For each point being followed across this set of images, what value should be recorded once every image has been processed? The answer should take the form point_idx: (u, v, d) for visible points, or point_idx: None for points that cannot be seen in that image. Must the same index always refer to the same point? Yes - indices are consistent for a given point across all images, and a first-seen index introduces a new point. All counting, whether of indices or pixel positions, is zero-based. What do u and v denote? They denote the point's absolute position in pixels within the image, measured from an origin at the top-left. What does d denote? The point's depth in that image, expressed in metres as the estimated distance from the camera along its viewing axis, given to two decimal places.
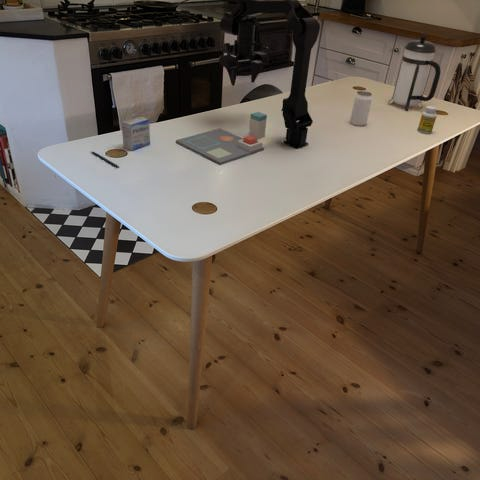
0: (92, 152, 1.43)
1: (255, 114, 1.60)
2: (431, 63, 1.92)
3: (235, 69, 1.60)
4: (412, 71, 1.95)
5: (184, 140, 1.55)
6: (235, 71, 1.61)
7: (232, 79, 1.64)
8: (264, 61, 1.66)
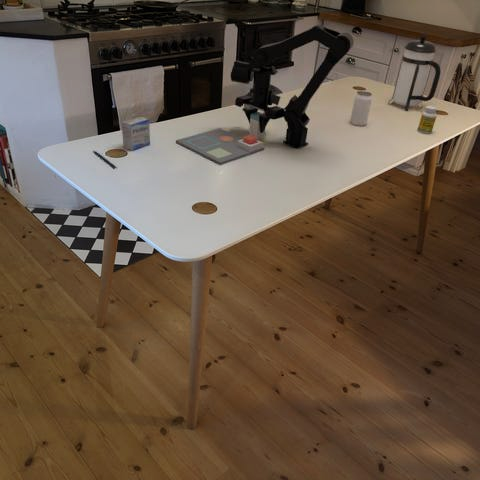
0: (94, 152, 1.44)
1: (255, 114, 1.60)
2: (431, 63, 1.92)
3: (245, 111, 1.61)
4: (412, 71, 1.95)
5: (184, 140, 1.55)
6: (246, 114, 1.61)
7: None
8: (268, 116, 1.54)
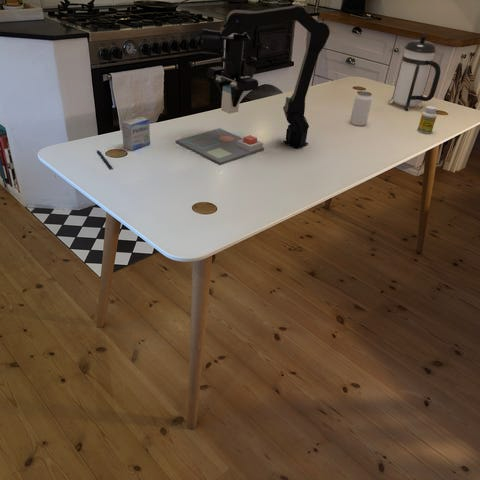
0: (97, 151, 1.44)
1: (227, 86, 1.49)
2: (431, 63, 1.92)
3: (217, 83, 1.50)
4: (412, 71, 1.95)
5: (184, 140, 1.55)
6: (218, 86, 1.50)
7: None
8: (239, 87, 1.43)
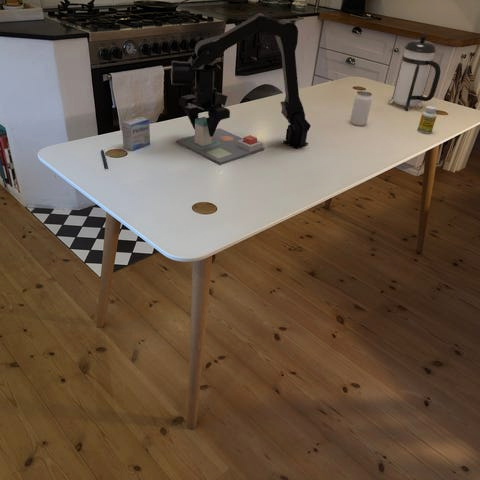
0: (101, 150, 1.45)
1: (199, 119, 1.50)
2: (431, 63, 1.92)
3: (186, 111, 1.51)
4: (412, 71, 1.95)
5: (184, 140, 1.55)
6: (187, 113, 1.51)
7: None
8: (211, 117, 1.43)
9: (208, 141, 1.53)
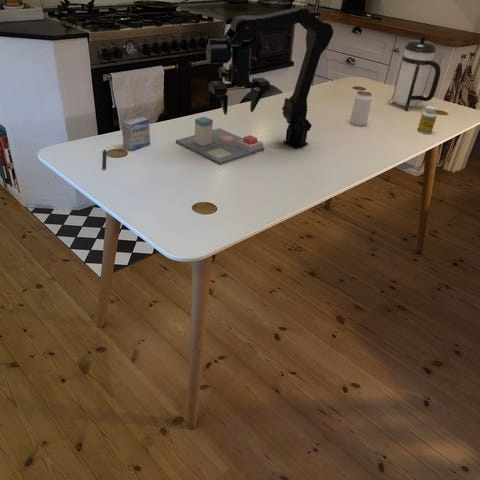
0: None
1: (199, 119, 1.50)
2: (431, 63, 1.92)
3: (224, 97, 1.41)
4: (412, 71, 1.95)
5: (184, 140, 1.55)
6: (225, 99, 1.42)
7: (223, 108, 1.45)
8: (263, 89, 1.44)
9: (208, 141, 1.53)
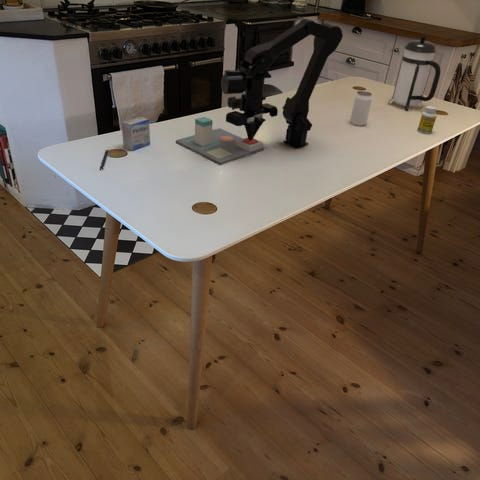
0: None
1: (199, 119, 1.50)
2: (431, 63, 1.92)
3: (254, 124, 1.47)
4: (412, 71, 1.95)
5: (184, 140, 1.55)
6: (254, 126, 1.48)
7: (250, 134, 1.51)
8: (273, 115, 1.51)
9: (208, 141, 1.53)
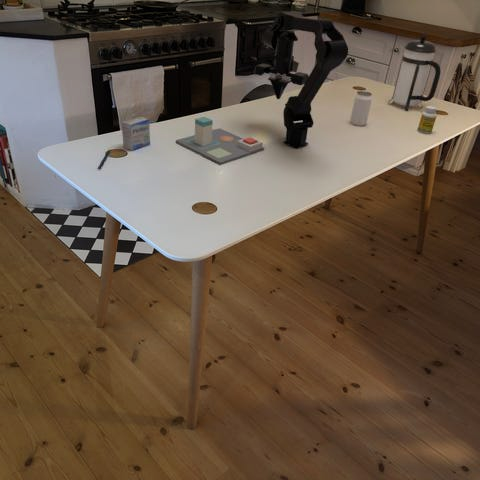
0: None
1: (199, 119, 1.50)
2: (431, 63, 1.92)
3: (272, 81, 1.60)
4: (412, 71, 1.95)
5: (184, 140, 1.55)
6: (273, 83, 1.60)
7: None
8: (294, 82, 1.55)
9: (208, 141, 1.53)
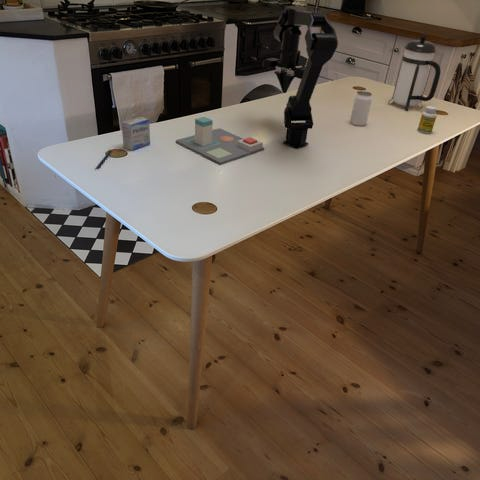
0: None
1: (199, 119, 1.50)
2: (431, 63, 1.92)
3: (277, 74, 1.63)
4: (412, 71, 1.95)
5: (184, 140, 1.55)
6: (278, 77, 1.63)
7: None
8: (296, 76, 1.57)
9: (208, 141, 1.53)
